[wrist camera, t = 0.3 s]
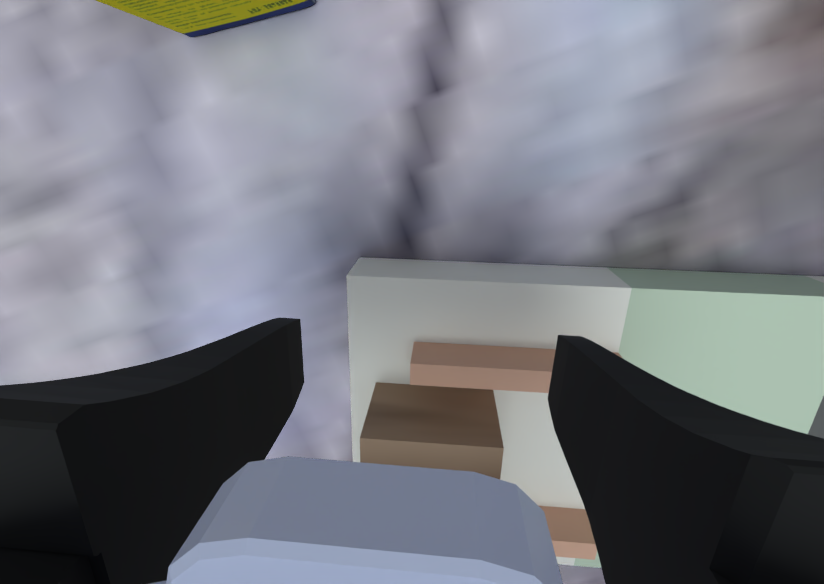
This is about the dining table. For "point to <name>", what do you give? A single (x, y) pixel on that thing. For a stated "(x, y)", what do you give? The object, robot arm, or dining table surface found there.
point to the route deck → (597, 321)
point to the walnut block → (433, 428)
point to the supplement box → (206, 12)
